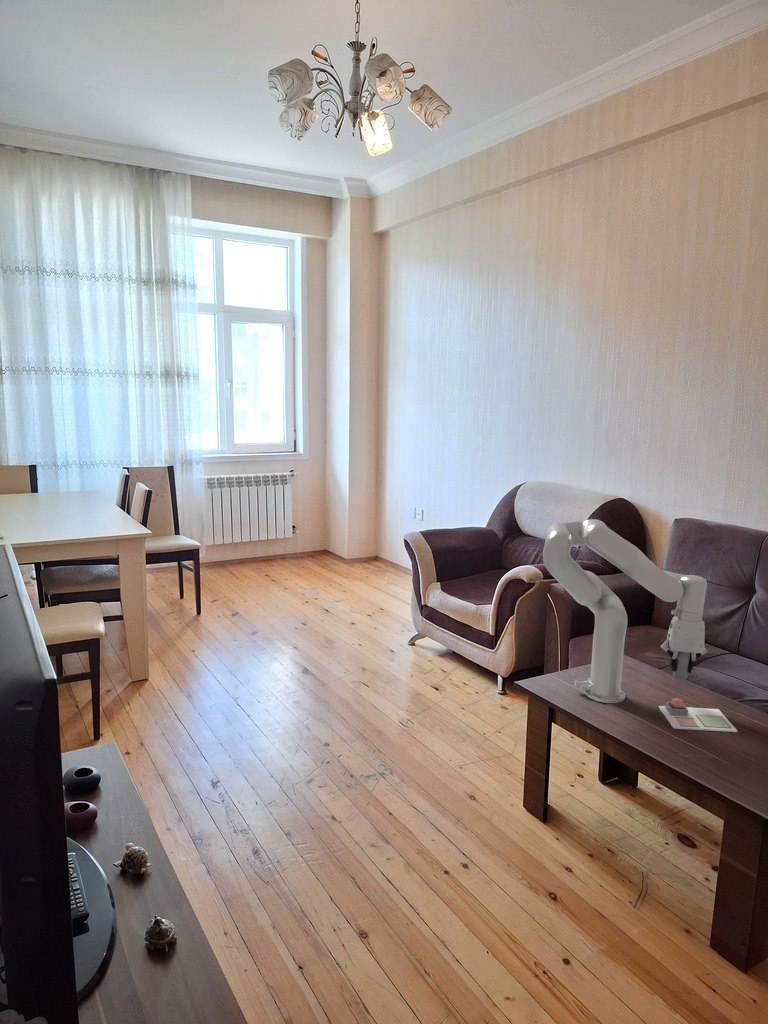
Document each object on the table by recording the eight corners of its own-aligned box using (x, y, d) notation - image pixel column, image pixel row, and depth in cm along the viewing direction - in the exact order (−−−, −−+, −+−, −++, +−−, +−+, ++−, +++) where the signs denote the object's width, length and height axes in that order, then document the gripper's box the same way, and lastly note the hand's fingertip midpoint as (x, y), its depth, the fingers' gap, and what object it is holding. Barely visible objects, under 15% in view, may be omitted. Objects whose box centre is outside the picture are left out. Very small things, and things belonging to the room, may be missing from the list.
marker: (675, 679, 213) (679, 647, 211) (670, 673, 217) (675, 642, 216) (688, 680, 213) (693, 648, 211) (684, 675, 217) (688, 643, 215)
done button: (673, 709, 207) (673, 702, 207) (669, 705, 210) (670, 697, 210) (683, 710, 207) (684, 702, 206) (680, 705, 210) (681, 698, 210)
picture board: (673, 728, 199) (674, 720, 199) (658, 707, 213) (659, 699, 213) (737, 732, 198) (738, 724, 198) (718, 710, 212) (719, 703, 211)
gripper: (665, 616, 209) (657, 673, 212) (721, 621, 207) (712, 678, 211) (657, 609, 216) (649, 663, 219) (711, 613, 215) (703, 668, 218)
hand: (680, 670), depth 215 cm, fingers closed on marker, 3 cm apart
